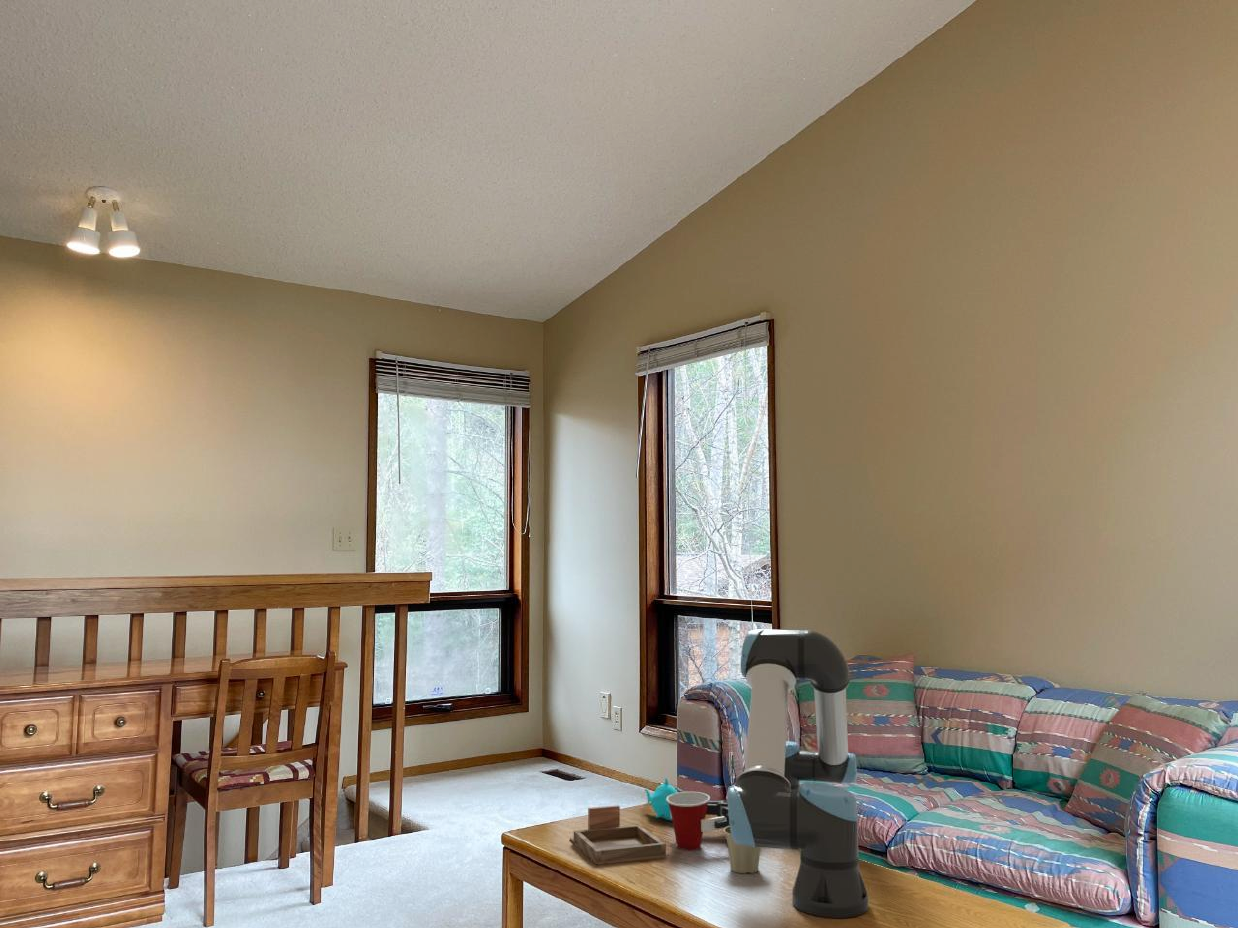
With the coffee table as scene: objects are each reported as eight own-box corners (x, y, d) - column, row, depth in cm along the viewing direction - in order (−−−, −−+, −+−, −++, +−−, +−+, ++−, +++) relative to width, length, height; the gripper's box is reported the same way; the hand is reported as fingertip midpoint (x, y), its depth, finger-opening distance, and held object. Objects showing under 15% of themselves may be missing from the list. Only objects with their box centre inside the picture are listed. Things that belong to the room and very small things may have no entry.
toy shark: (673, 828, 251) (673, 786, 252) (631, 813, 265) (631, 773, 266) (701, 822, 256) (701, 781, 258) (658, 808, 271) (658, 769, 272)
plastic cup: (657, 846, 234) (656, 796, 236) (685, 837, 242) (685, 788, 243) (691, 856, 227) (691, 804, 228) (719, 846, 235) (719, 796, 236)
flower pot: (764, 877, 212) (763, 837, 213) (721, 874, 214) (721, 834, 215) (766, 864, 221) (766, 825, 222) (725, 861, 223) (725, 823, 224)
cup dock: (665, 856, 226) (665, 824, 227) (596, 864, 221) (596, 830, 221) (634, 833, 246) (634, 803, 247) (569, 839, 240) (569, 808, 241)
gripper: (787, 835, 235) (716, 848, 224) (726, 812, 256) (659, 822, 246) (786, 804, 236) (715, 815, 225) (726, 783, 257) (659, 792, 247)
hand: (686, 819), depth 235 cm, fingers open, 13 cm apart
